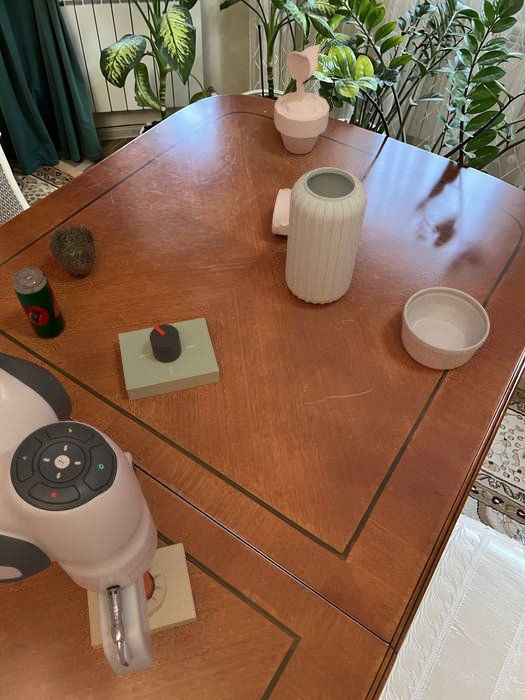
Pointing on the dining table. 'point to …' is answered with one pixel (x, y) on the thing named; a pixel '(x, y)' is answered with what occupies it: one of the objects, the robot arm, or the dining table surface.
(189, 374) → the panel
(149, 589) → the button
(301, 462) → the dining table surface
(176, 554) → the button box
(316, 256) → the vase
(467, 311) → the ramekin
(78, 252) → the dark grey rounded lump
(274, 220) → the soap bar
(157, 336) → the knob
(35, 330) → the soda can
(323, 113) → the potted plant
